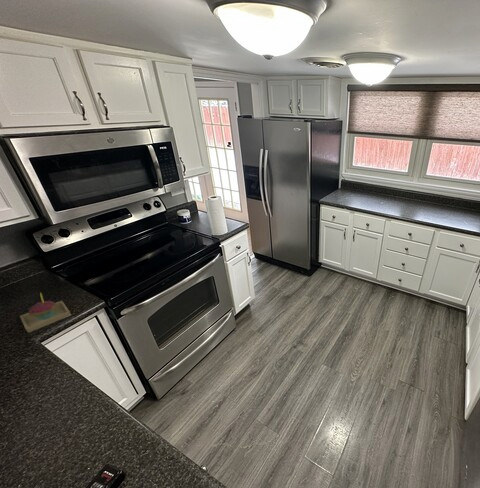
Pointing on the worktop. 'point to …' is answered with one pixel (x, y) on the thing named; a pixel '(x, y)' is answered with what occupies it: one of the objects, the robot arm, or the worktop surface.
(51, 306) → the cupcake
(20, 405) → the worktop surface
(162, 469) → the worktop surface
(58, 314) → the tray
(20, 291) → the worktop surface
